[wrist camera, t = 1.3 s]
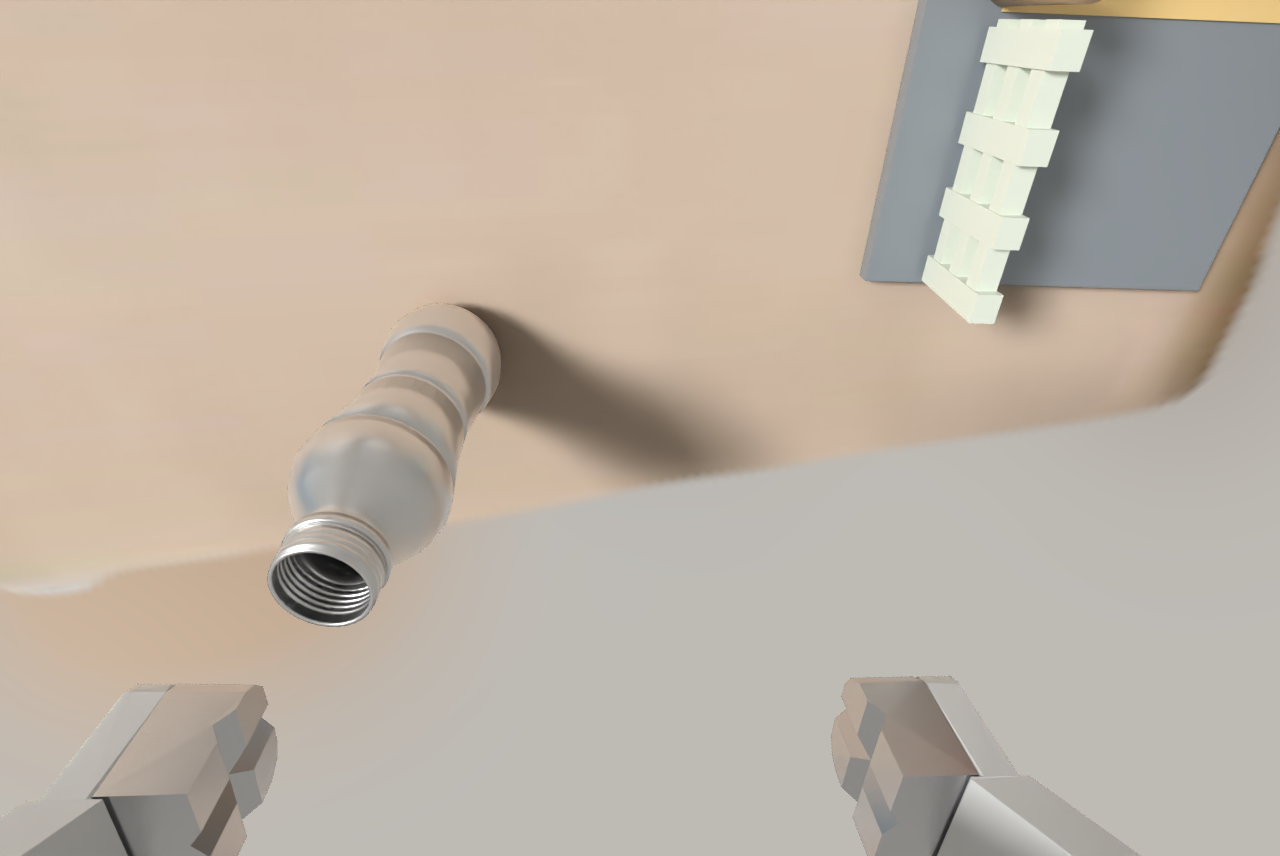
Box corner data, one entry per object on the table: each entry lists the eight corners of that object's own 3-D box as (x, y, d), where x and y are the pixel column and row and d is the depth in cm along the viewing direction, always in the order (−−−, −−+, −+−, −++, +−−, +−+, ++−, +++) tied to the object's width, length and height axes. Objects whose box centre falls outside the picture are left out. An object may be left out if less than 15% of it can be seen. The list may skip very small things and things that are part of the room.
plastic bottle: (414, 397, 42) (265, 661, 25) (384, 294, 38) (185, 520, 21) (516, 390, 41) (438, 651, 24) (496, 285, 38) (386, 506, 21)
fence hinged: (991, 18, 30) (1065, 19, 25) (1017, 20, 30) (1096, 20, 25) (921, 280, 36) (969, 323, 31) (942, 280, 36) (994, 323, 31)
